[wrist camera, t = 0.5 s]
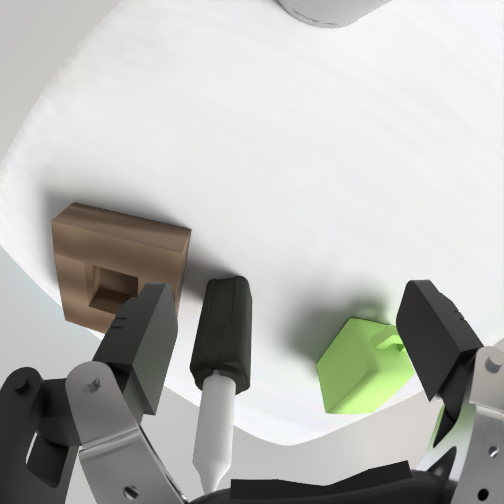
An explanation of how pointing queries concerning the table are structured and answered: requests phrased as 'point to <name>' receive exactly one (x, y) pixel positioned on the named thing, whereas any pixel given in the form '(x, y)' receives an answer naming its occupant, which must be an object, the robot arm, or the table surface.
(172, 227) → the holder
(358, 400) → the green square pitcher
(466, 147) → the table surface
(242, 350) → the candle
